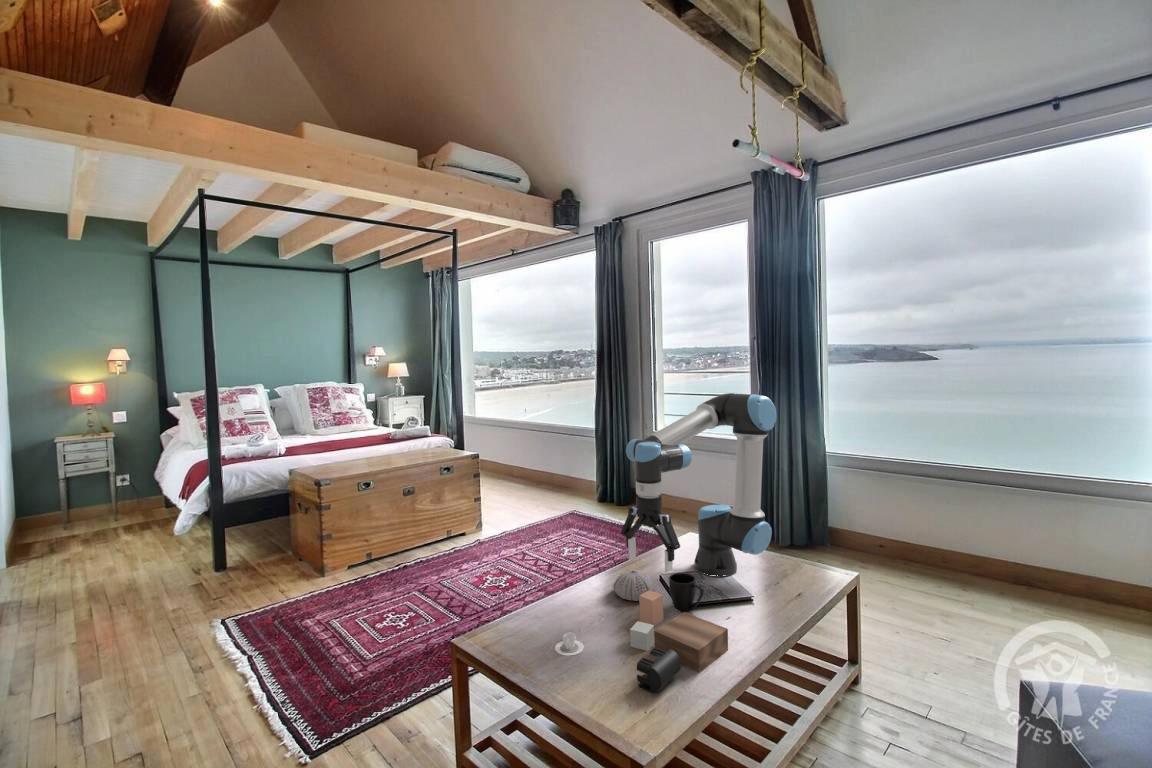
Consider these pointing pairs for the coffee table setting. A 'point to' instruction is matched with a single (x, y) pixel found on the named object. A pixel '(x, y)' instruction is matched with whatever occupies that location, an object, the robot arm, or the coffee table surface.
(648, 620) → the terracotta block
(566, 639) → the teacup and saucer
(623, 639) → the coffee table surface
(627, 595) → the sea urchin shell
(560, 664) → the coffee table surface
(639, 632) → the grey cube
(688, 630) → the walnut block
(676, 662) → the end cap
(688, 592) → the mug
